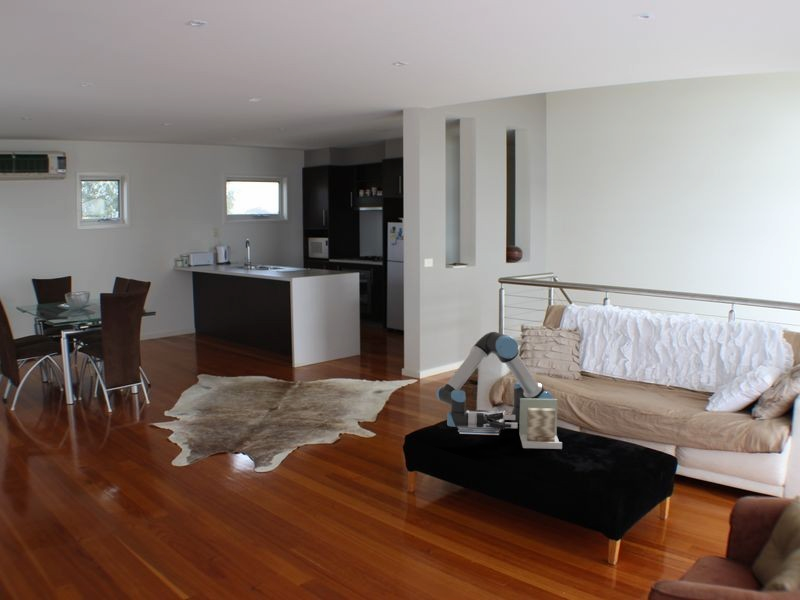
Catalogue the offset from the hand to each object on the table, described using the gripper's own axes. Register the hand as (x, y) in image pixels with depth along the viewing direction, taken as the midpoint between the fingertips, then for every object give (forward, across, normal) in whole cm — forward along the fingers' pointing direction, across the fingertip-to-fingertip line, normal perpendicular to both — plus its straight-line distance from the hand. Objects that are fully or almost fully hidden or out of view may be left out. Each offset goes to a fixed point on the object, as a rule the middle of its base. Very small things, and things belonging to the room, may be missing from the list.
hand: (516, 421), depth 379 cm
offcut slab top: (+15, +5, -9) cm, 18 cm away
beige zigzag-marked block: (+13, 0, -11) cm, 17 cm away
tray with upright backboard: (+13, -2, -12) cm, 18 cm away
